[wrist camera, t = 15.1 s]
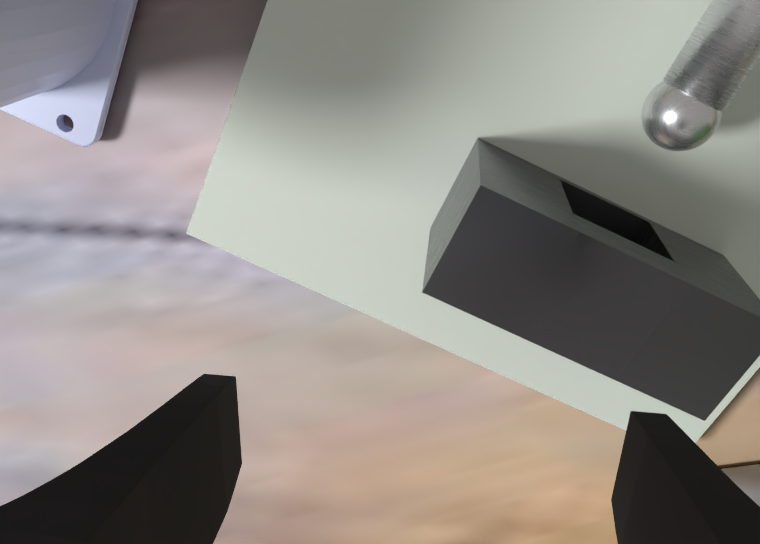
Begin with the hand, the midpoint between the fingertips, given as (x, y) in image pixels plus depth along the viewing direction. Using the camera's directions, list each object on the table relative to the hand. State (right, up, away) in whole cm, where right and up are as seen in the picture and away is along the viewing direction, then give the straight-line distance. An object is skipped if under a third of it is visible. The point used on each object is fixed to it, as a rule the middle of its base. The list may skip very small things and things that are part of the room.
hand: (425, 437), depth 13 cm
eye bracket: (+5, +4, +7) cm, 10 cm away
